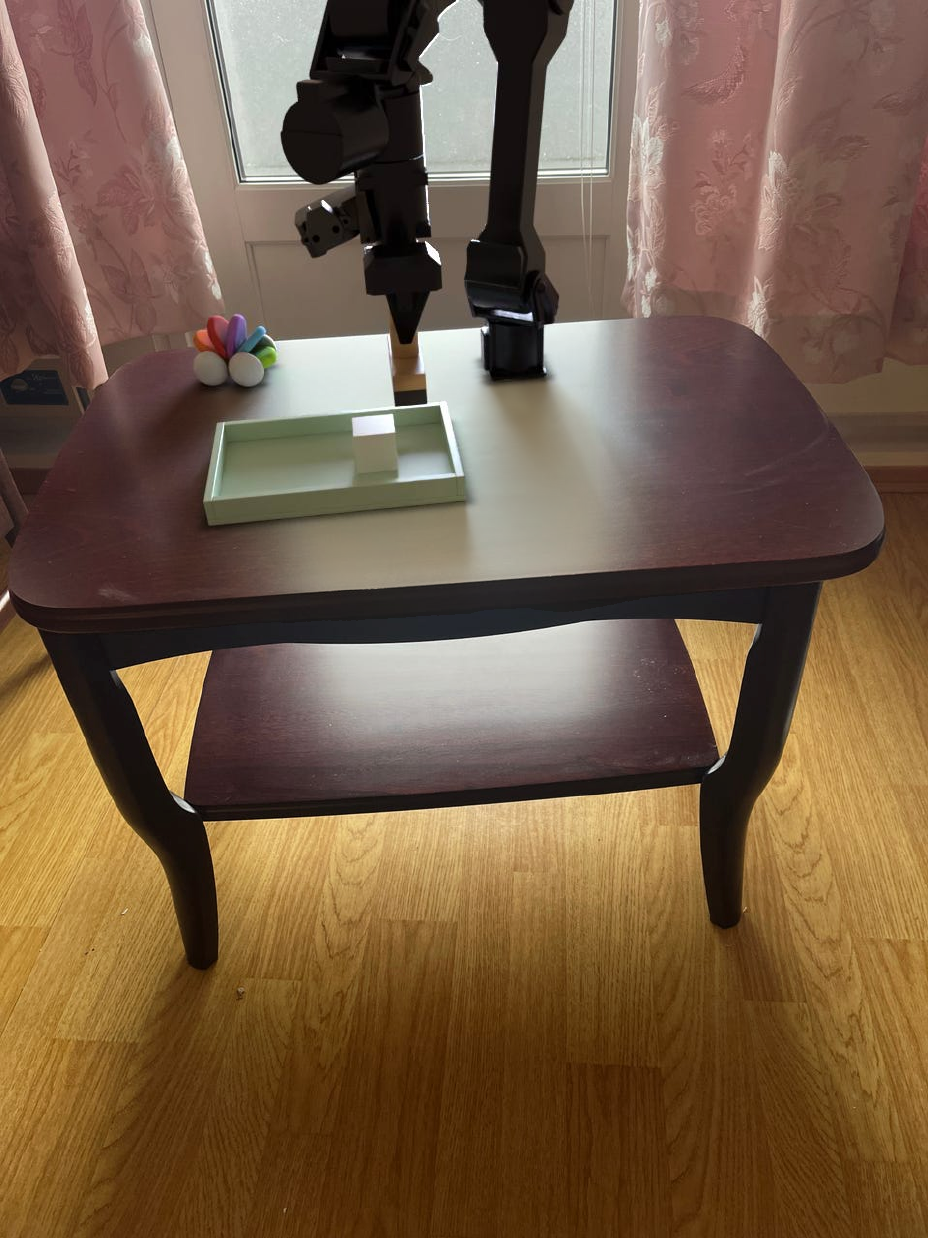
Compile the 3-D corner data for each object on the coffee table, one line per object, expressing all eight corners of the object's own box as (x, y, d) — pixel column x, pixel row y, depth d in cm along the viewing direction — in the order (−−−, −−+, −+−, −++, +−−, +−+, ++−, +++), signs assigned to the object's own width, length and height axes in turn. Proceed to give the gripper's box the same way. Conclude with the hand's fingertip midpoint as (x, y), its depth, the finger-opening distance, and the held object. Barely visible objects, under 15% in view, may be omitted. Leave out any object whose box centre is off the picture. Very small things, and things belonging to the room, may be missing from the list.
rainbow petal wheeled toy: (213, 359, 116) (201, 300, 111) (290, 361, 114) (280, 302, 110) (187, 389, 109) (172, 328, 105) (267, 392, 108) (256, 330, 103)
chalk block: (396, 450, 95) (392, 413, 92) (398, 470, 92) (395, 432, 89) (356, 454, 95) (351, 417, 92) (357, 474, 91) (352, 436, 89)
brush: (394, 407, 87) (386, 310, 81) (389, 363, 95) (381, 271, 89) (427, 404, 87) (421, 307, 81) (419, 360, 95) (413, 269, 89)
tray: (447, 423, 100) (446, 401, 98) (466, 500, 88) (464, 475, 86) (221, 445, 98) (216, 422, 97) (208, 526, 86) (202, 501, 85)
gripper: (295, 136, 85) (318, 308, 95) (288, 191, 71) (316, 387, 80) (419, 128, 86) (429, 299, 96) (437, 180, 71) (447, 376, 81)
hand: (404, 337), depth 88 cm, fingers closed on brush, 3 cm apart
